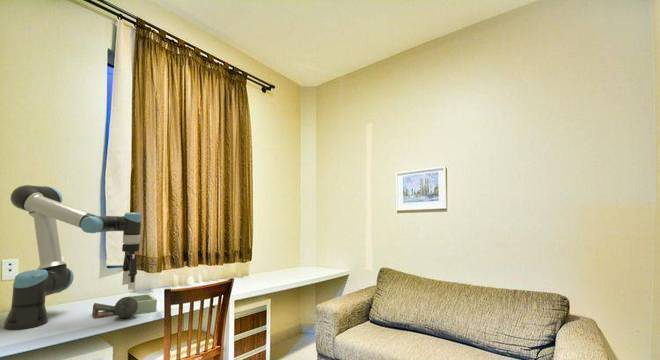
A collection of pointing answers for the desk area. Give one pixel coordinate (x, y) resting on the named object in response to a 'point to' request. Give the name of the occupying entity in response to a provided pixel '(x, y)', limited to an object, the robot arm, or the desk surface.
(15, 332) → the desk surface
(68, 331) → the desk surface
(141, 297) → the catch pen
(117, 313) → the decorative ball
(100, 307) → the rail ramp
